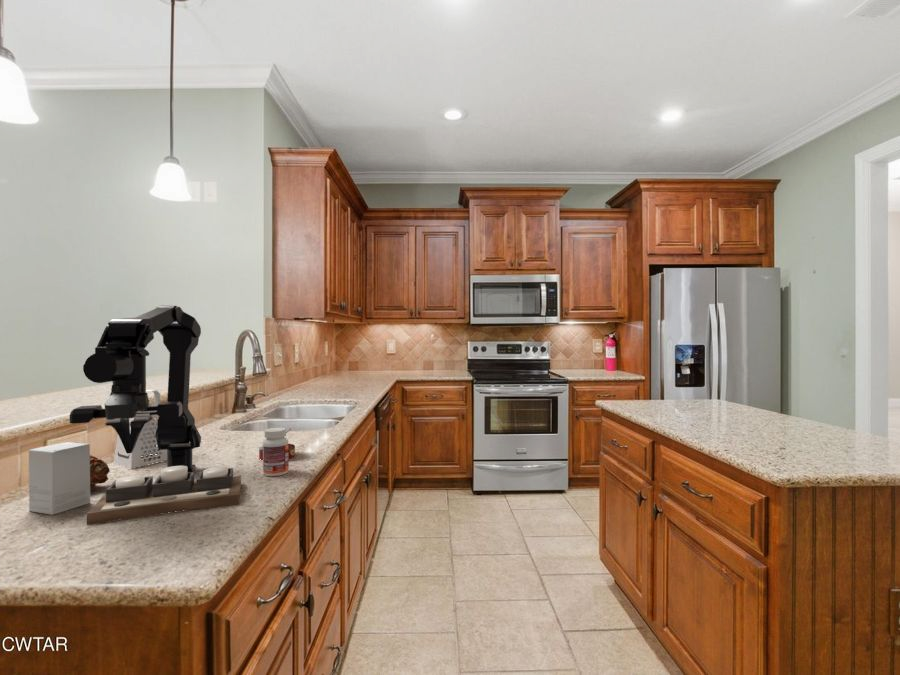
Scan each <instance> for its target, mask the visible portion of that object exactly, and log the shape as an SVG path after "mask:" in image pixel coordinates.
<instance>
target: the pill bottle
mask: <svg viewBox="0 0 900 675" xmlns="http://www.w3.org/2000/svg"><path fill="white" fill-rule="evenodd" d="M286 432H287V428H285V427H271V428H266V429H264V438H265V439H264V440H263V441H262V442H263V443H262V446H263V461H262V473H263V475H264V476H266V477H279V476H284V475H285V474H288V472H289V459H288V444H289V439H287V437H286V436H287V433H286Z"/></svg>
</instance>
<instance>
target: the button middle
mask: <svg viewBox="0 0 900 675" xmlns="http://www.w3.org/2000/svg"><path fill="white" fill-rule="evenodd" d="M160 475H161V483H167V482H176V481H185V480H187V479H188V467H187V466H172V467H167V466H166V467H164V468H162V469H161V470H160Z"/></svg>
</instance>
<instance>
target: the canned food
mask: <svg viewBox="0 0 900 675" xmlns="http://www.w3.org/2000/svg"><path fill="white" fill-rule="evenodd" d="M291 429H292V428H289V429H288V430H286V434H287V433H289V431H291ZM258 450H259V451H258V454H259V455H258V457H259V460H260V459H261V460H263V445H262V446H260V447H259V448H258ZM294 456H295V457H296V446H295V444H293V443H288V460H291V459H293V458H295V457H294ZM292 457H293V458H292ZM290 458H291V459H290ZM261 460H260V461H261Z"/></svg>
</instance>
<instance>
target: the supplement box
mask: <svg viewBox="0 0 900 675" xmlns="http://www.w3.org/2000/svg"><path fill="white" fill-rule="evenodd" d="M90 447H91V445H90V443H81V442H80V443H79V442H71V441H70V442H68V441H67V442H60V443H54V444H49V445H46V446H40V447H34V448H31V449H28V495H29V496H28V502H29V503H28V506H29V507H28V510H29V512H34V513H40V514H46V515H50V516H51V515H52V516H53V515H57V514H60V513H63V512H67V511H69V510H72V509H73V510H74V509H76V508H79V507H82V506H86V505H88V504H90V503H91V490H90V455H91V452H90V451H91V448H90Z"/></svg>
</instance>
